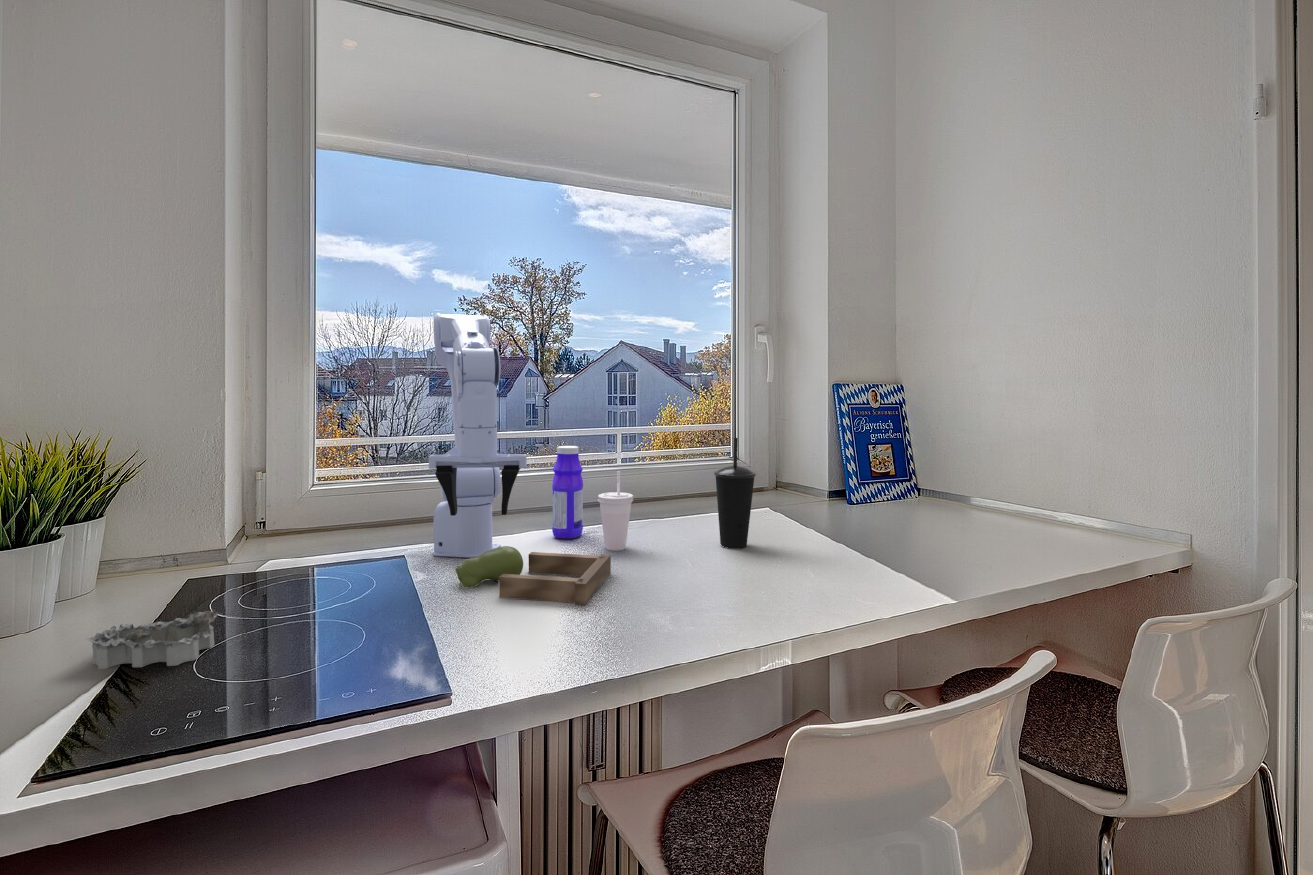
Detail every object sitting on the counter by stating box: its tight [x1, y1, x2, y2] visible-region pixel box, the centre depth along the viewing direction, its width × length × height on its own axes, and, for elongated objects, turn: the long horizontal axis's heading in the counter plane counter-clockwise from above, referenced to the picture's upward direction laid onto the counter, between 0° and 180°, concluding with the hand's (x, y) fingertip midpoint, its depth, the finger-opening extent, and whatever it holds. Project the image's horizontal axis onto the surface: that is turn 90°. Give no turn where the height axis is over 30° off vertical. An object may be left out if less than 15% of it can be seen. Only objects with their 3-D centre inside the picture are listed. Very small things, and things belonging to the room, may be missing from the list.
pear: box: [454, 545, 524, 589], centre depth 103 cm, size 6×5×10 cm
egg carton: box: [84, 610, 218, 670], centre depth 76 cm, size 11×8×4 cm
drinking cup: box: [713, 437, 757, 549], centre depth 125 cm, size 8×8×20 cm
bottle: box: [551, 445, 584, 540], centre depth 132 cm, size 7×6×17 cm
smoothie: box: [597, 470, 634, 552], centre depth 123 cm, size 6×6×14 cm
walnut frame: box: [498, 551, 612, 606], centre depth 102 cm, size 13×15×3 cm
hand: (479, 513), depth 106 cm, fingers open, 7 cm apart
